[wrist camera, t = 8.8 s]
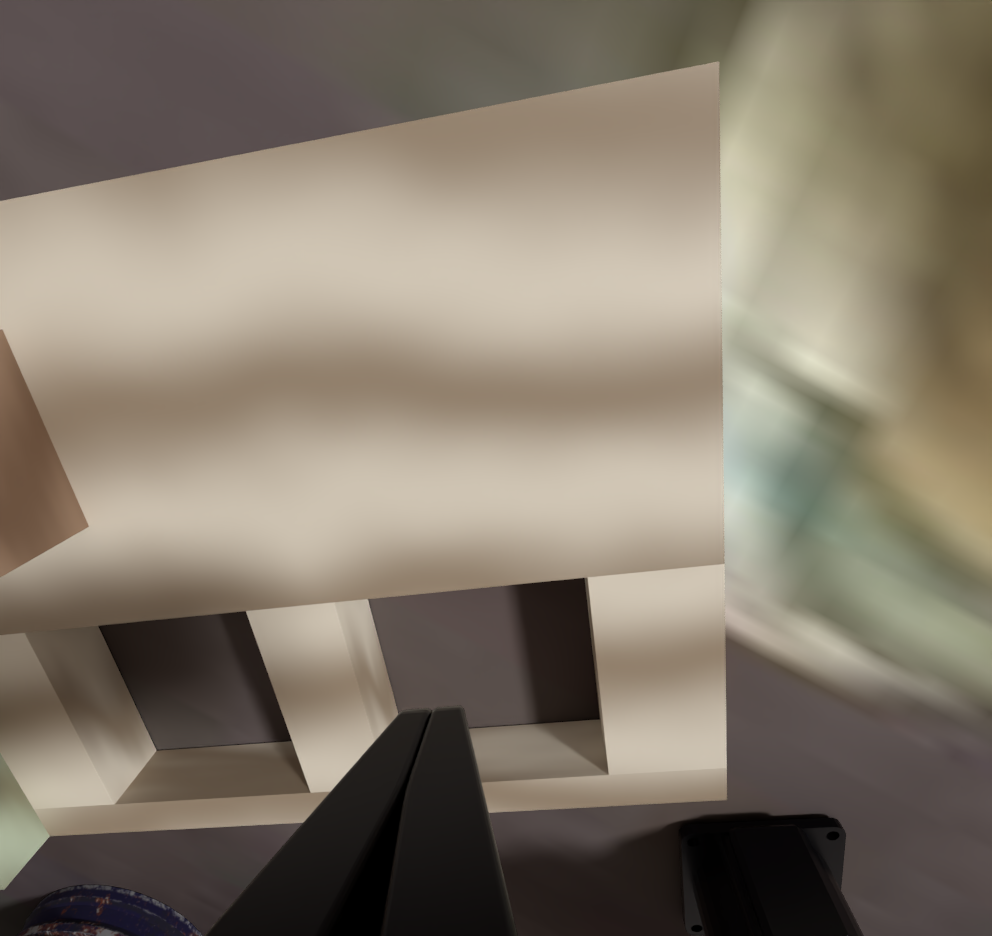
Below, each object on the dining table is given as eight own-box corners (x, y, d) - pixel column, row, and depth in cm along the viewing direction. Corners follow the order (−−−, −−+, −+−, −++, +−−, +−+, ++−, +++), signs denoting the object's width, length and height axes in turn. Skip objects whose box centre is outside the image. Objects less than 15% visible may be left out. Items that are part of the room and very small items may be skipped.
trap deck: (705, 741, 21) (748, 857, 17) (66, 783, 24) (-32, 890, 20) (687, 96, 14) (755, 20, 10) (-221, 268, 17) (-469, 266, 13)
